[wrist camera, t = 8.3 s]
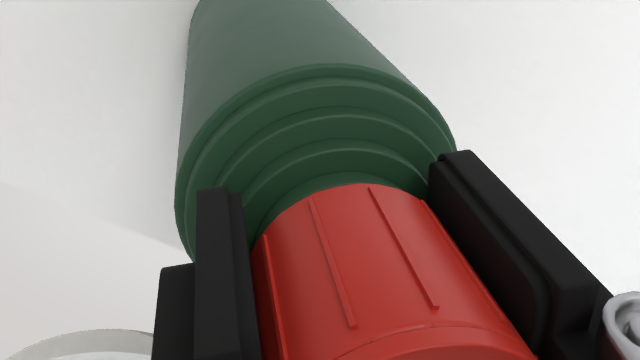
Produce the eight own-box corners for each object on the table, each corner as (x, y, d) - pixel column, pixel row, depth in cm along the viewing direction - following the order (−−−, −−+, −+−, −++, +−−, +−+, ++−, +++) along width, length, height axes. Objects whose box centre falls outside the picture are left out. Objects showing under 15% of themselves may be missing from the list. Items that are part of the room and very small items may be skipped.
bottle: (283, 133, 26) (425, 581, 9) (162, 64, 24) (60, 516, 7) (361, 21, 24) (713, 333, 8) (239, -67, 22) (362, 109, 5)
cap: (446, 161, 9) (576, 310, 6) (448, 323, 11) (546, 502, 8) (223, 207, 9) (234, 394, 6) (265, 367, 11) (291, 574, 7)
